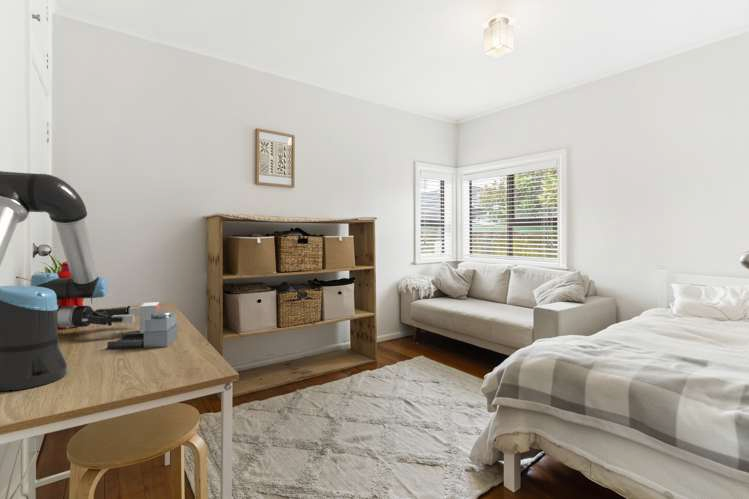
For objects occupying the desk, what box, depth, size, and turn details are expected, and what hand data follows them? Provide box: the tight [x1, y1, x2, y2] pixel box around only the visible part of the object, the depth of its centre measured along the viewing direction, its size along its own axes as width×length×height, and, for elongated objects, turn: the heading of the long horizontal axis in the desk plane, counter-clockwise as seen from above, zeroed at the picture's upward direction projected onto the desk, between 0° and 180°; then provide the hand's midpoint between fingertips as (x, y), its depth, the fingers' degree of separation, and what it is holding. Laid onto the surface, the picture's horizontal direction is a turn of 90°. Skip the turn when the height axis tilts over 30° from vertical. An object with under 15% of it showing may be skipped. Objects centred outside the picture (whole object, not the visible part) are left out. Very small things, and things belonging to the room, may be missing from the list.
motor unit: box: [106, 310, 179, 350], centre depth 128 cm, size 11×18×10 cm, turn 101°
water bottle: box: [56, 262, 84, 330], centre depth 150 cm, size 9×11×25 cm
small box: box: [139, 301, 161, 333], centre depth 143 cm, size 8×6×10 cm
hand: (141, 314), depth 143 cm, fingers open, 13 cm apart
